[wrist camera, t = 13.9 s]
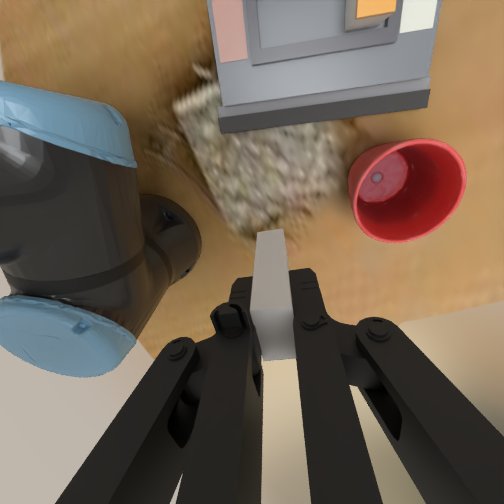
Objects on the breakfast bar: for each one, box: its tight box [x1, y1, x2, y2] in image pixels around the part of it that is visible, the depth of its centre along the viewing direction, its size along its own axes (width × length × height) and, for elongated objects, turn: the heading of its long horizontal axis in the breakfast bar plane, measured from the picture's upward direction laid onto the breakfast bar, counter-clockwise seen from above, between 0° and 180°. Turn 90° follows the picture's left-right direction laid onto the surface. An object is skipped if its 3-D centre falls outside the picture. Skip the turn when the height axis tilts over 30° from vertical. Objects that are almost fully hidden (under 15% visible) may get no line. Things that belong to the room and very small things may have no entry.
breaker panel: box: [207, 0, 442, 106], centre depth 26 cm, size 22×13×4 cm, turn 97°
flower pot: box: [348, 138, 467, 243], centre depth 30 cm, size 11×11×10 cm
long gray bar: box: [217, 76, 431, 134], centre depth 30 cm, size 24×3×2 cm, turn 97°
